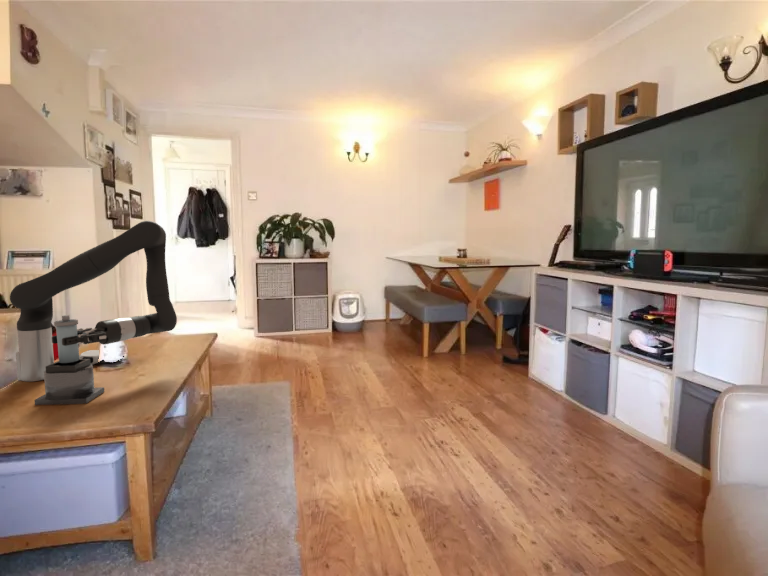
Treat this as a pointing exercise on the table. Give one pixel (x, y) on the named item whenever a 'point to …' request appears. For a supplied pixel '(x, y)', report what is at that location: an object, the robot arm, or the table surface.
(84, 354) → the robot toy
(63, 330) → the grey lidded canister
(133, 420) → the table surface
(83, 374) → the dark grey holder
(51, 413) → the table surface
